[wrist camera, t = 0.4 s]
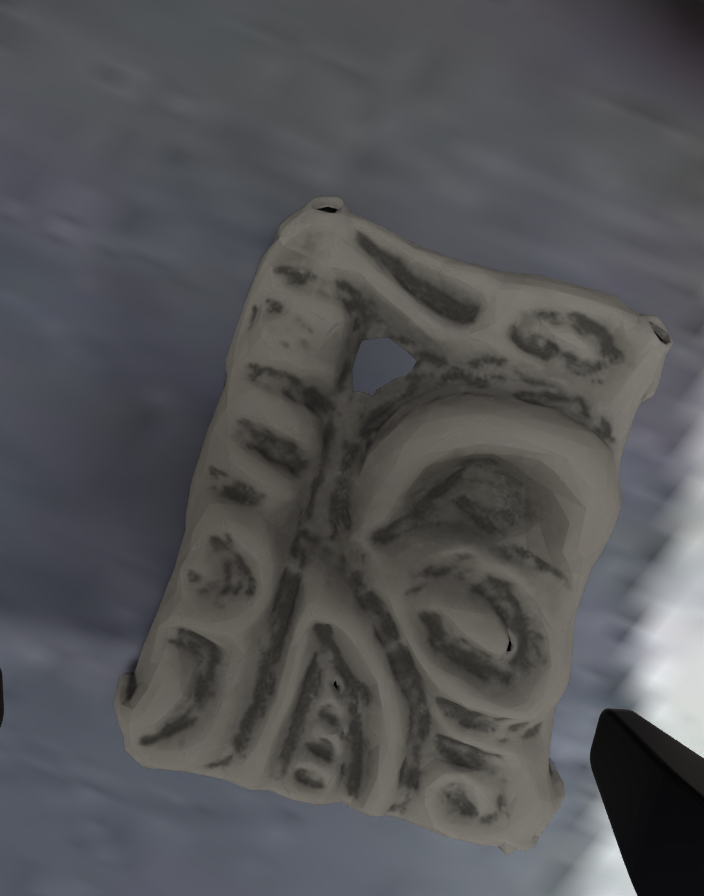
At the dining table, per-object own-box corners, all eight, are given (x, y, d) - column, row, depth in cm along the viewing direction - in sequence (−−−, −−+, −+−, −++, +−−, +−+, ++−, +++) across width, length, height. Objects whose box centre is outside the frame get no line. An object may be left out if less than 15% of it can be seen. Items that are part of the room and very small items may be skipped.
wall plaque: (528, 829, 25) (566, 910, 21) (117, 726, 23) (75, 793, 19) (706, 330, 23) (785, 317, 19) (272, 183, 21) (261, 135, 17)
